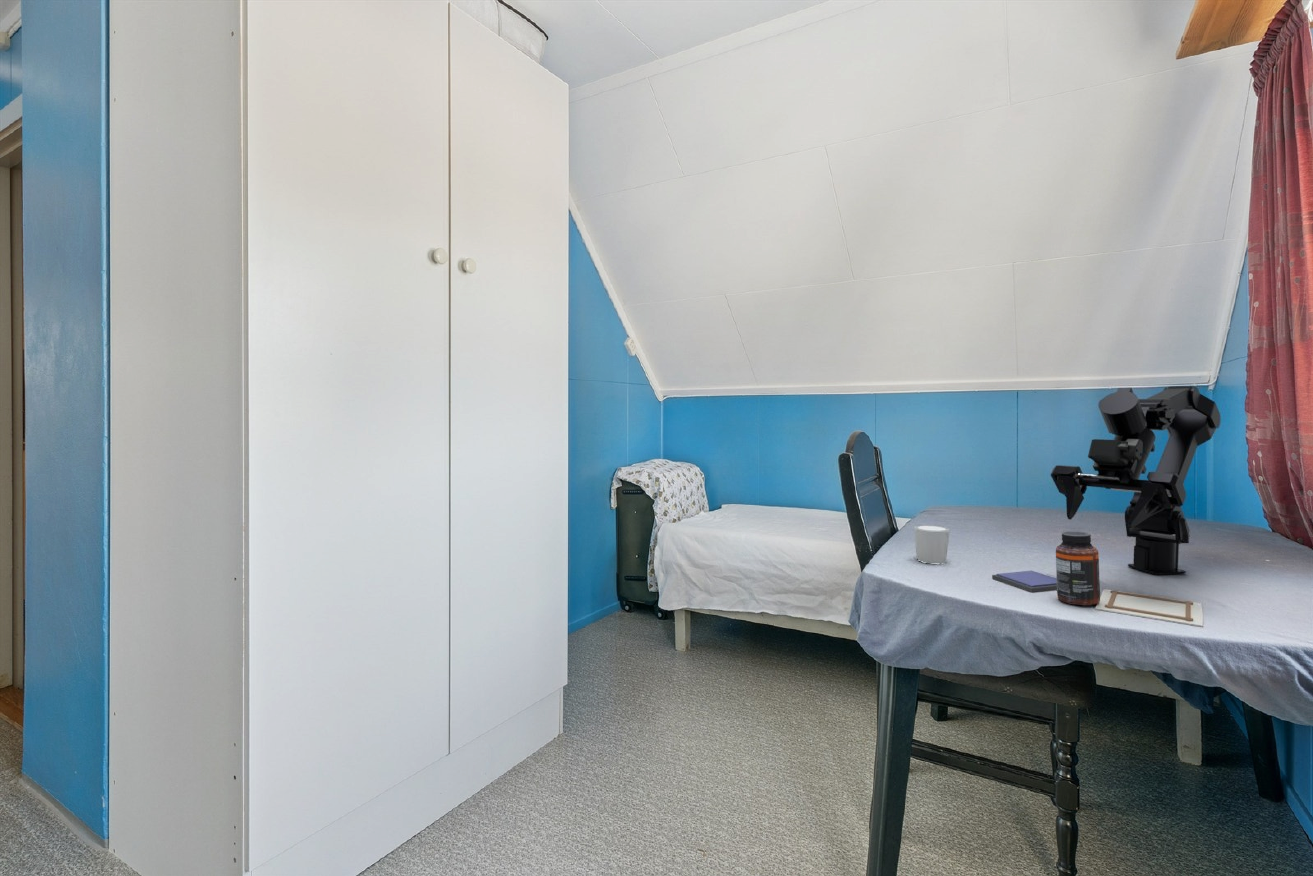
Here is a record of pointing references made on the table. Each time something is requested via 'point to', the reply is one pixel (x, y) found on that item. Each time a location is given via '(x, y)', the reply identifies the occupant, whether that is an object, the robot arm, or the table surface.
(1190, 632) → the table surface
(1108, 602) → the marked sheet
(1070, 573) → the supplement bottle
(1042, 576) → the ink pad
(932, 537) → the white short cylinder
